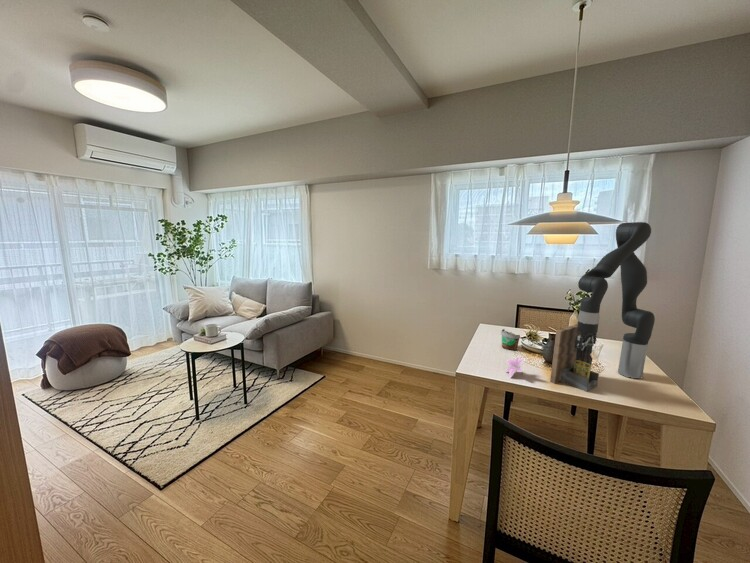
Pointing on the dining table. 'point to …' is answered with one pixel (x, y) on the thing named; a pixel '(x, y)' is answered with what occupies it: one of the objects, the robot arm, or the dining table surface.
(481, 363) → the dining table surface
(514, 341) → the food container
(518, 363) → the lily
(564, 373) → the wavy bookend stand
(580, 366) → the sauce bottle
